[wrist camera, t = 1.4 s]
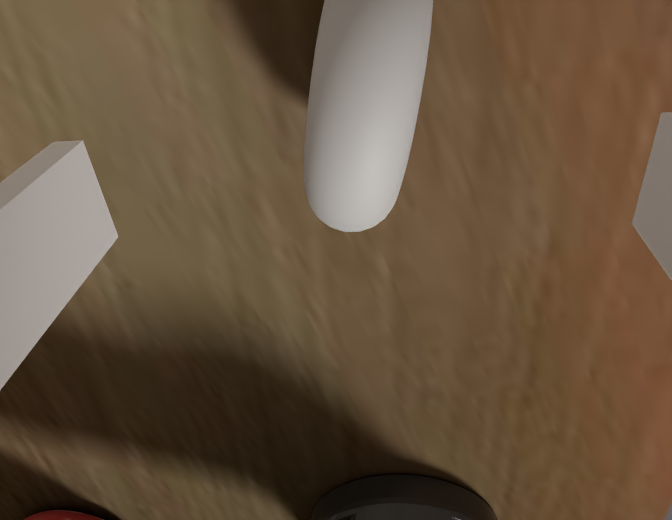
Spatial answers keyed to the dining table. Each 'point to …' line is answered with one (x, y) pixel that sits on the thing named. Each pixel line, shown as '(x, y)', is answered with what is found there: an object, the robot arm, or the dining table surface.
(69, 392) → the dining table surface
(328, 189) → the grey curved piece
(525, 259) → the dining table surface
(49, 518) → the plant pot
